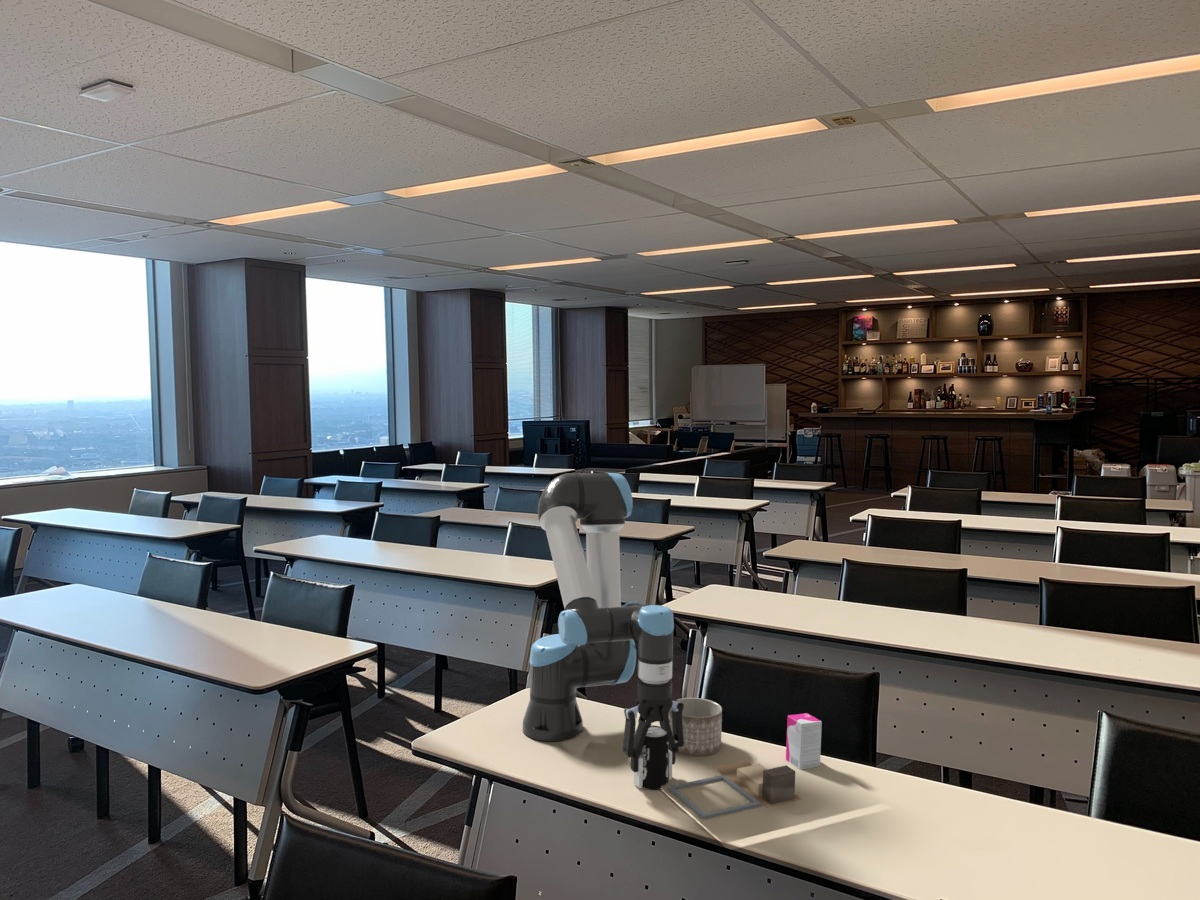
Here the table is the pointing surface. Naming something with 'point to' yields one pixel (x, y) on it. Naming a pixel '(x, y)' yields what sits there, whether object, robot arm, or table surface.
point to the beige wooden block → (752, 777)
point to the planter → (700, 727)
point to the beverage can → (655, 758)
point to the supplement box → (803, 741)
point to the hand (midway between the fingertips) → (652, 781)
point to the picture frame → (720, 812)
